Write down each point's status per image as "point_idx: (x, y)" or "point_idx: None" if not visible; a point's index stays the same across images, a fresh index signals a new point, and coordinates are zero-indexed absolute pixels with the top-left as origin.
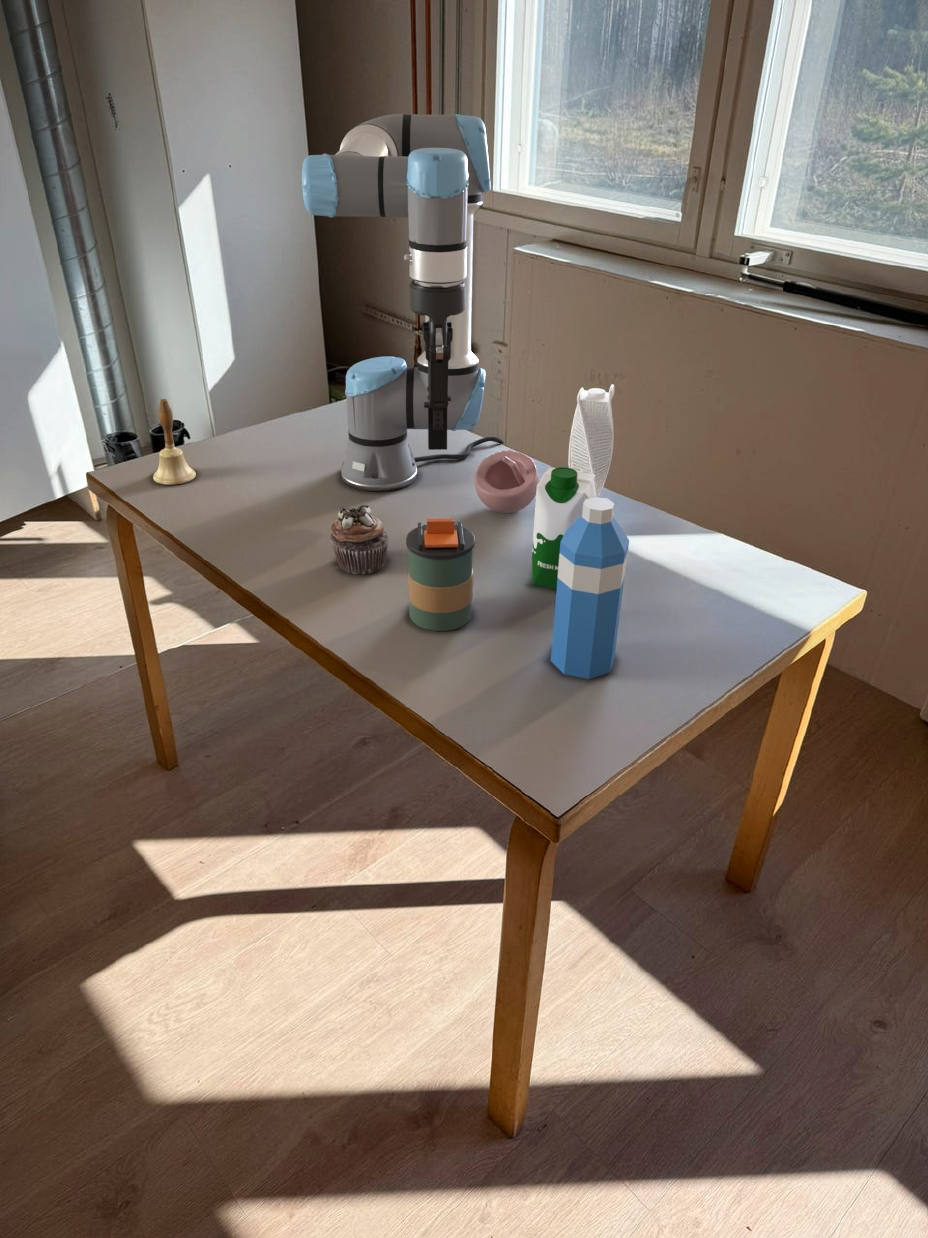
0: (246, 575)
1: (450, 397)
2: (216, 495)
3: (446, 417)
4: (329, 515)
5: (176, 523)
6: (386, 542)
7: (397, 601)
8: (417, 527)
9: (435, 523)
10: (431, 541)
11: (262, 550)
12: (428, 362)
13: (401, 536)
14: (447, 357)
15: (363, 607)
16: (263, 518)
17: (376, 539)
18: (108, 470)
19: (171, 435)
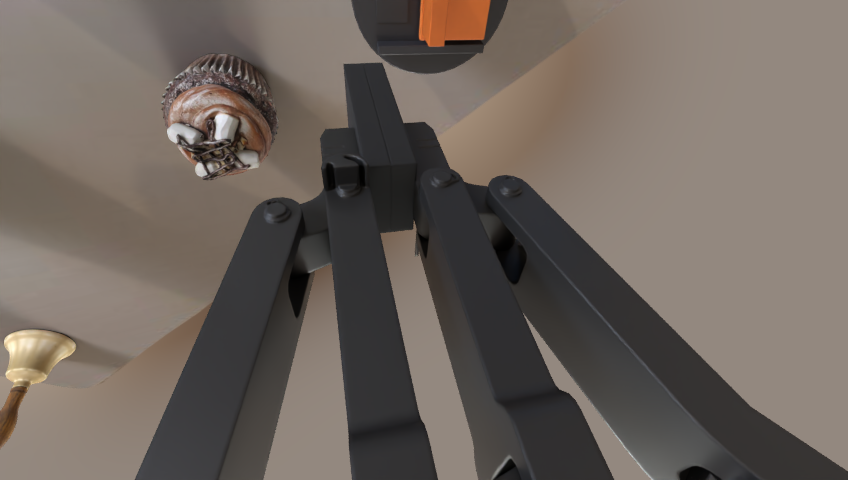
0: None
1: (352, 166)
2: (73, 298)
3: (405, 134)
4: (54, 160)
5: (180, 307)
6: (231, 71)
7: (353, 27)
8: (376, 50)
9: (446, 23)
10: (473, 24)
11: (224, 222)
12: (280, 398)
13: (81, 19)
14: (807, 449)
15: None
16: (120, 240)
17: (244, 95)
18: (67, 386)
19: (14, 398)
